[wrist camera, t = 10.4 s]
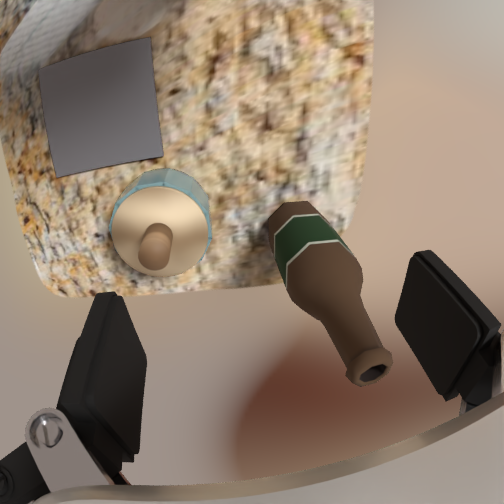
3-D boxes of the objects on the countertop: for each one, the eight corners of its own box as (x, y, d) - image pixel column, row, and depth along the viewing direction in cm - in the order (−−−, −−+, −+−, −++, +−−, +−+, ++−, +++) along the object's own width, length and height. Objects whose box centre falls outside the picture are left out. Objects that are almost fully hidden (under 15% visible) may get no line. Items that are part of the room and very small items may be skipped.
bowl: (113, 176, 34) (99, 192, 29) (204, 162, 35) (204, 176, 30) (132, 255, 40) (124, 280, 35) (214, 245, 40) (216, 269, 36)
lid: (102, 195, 29) (87, 215, 25) (201, 178, 30) (200, 196, 26) (127, 277, 35) (119, 305, 30) (214, 266, 36) (216, 294, 31)
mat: (39, 69, 25) (38, 69, 25) (150, 37, 26) (150, 37, 26) (58, 176, 32) (56, 177, 32) (163, 155, 34) (163, 156, 33)
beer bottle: (308, 257, 43) (380, 403, 23) (256, 243, 41) (304, 405, 21) (332, 208, 40) (437, 340, 20) (278, 189, 38) (362, 332, 17)
